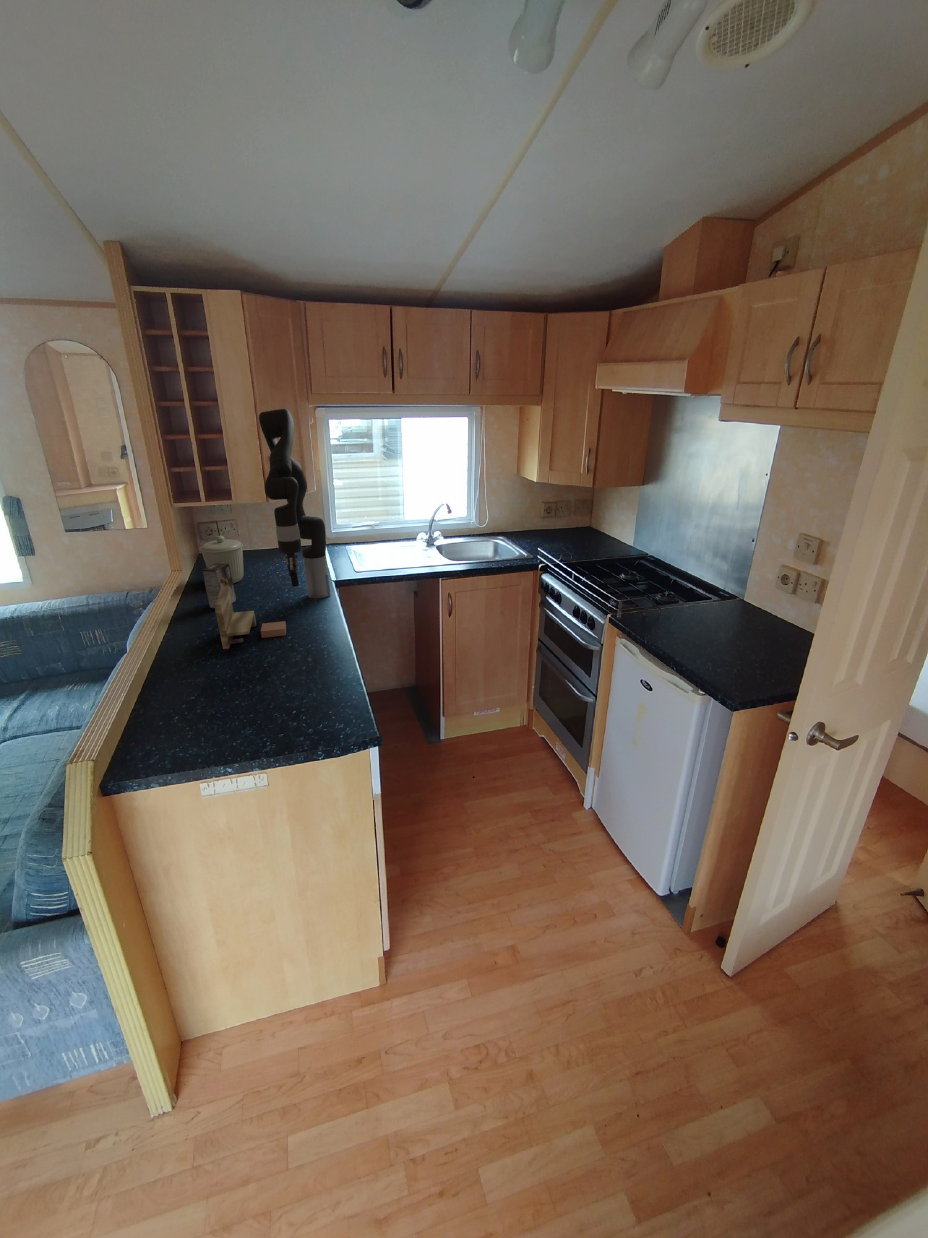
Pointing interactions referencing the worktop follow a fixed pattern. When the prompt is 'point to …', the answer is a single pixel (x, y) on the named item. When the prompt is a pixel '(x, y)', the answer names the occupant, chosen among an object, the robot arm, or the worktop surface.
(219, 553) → the canister
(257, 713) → the worktop surface
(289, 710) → the worktop surface
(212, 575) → the coffee box
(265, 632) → the tan cardboard carton
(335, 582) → the worktop surface
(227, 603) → the nook
